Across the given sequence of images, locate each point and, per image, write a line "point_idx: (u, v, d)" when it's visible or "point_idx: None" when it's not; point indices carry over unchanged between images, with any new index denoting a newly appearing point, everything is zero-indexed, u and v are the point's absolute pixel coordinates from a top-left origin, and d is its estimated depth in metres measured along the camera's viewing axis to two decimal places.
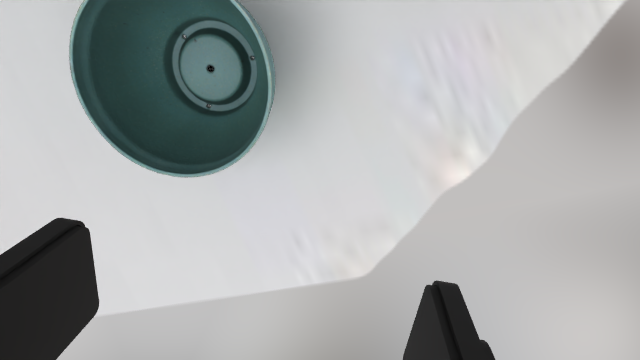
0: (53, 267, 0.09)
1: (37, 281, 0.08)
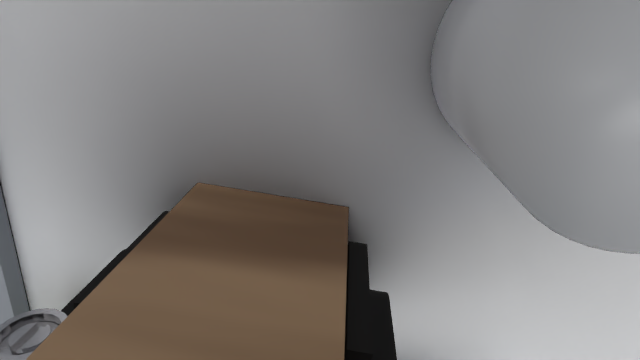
0: None
1: None
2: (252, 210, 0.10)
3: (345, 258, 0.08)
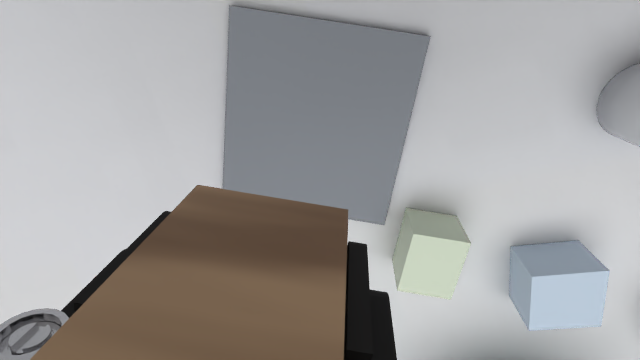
0: None
1: None
2: (251, 213, 0.10)
3: (344, 261, 0.08)
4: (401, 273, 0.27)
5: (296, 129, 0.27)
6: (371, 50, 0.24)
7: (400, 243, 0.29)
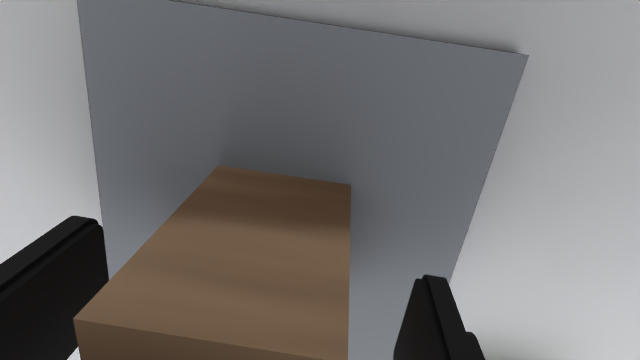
0: (69, 264, 0.09)
1: (54, 277, 0.08)
2: (267, 187, 0.11)
3: (348, 223, 0.10)
4: None
5: None
6: (393, 85, 0.11)
7: None
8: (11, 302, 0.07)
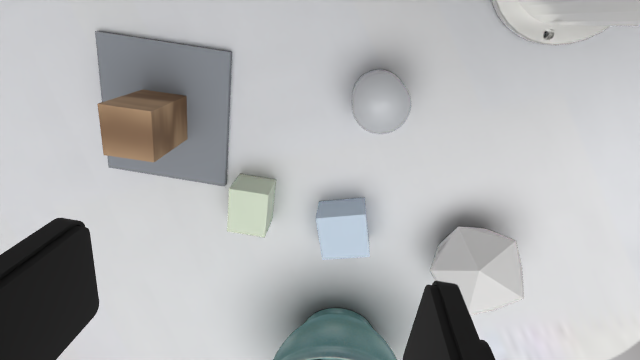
0: (53, 267, 0.09)
1: (37, 281, 0.08)
2: (155, 94, 0.36)
3: (174, 100, 0.34)
4: (228, 218, 0.38)
5: None
6: (193, 61, 0.35)
7: None
8: None
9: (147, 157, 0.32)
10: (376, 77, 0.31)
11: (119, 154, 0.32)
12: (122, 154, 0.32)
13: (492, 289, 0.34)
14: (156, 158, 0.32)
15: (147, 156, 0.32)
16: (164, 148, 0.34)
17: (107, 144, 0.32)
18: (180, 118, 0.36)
